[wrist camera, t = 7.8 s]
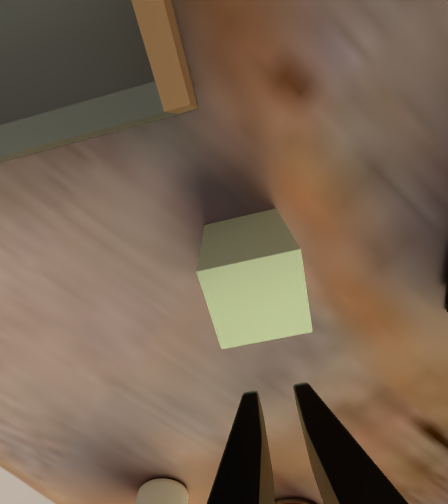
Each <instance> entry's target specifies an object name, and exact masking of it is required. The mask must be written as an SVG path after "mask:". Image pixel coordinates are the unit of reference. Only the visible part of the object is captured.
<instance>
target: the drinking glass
mask: <svg viewBox="0 0 448 504" xmlns="http://www.w3.org/2000/svg"><path fill="white" fill-rule="evenodd" d="M135 504H189V495H188V491H187V489H186V488H185V487H184V486H183V485H182V484H181V483H179V482H177V481H175V480H171V479H165V478H159V479H153V480H150V481H148V482H146V483H144V484H143V485H142V486H141V487H140V488H139V490H138V492H137V495H136V499H135Z"/></svg>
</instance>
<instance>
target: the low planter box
mask: <svg viewBox="0 0 448 504" xmlns="http://www.w3.org/2000/svg"><path fill="white" fill-rule="evenodd" d="M196 109H199V107H198V103H197V99H196V95H195V91H194V87H193V83H192V79H191V75H190V71H189V67H188V63H187V59H186V55H185V51H184V47H183V43H182V39H181V35H180V31H179V27H178V22H177V18H176V14H175V10H174V6H173V2H172V0H0V162H4V161H8V160H12V159H15V158H19V157H23V156H26V155H30V154H34V153H37V152H41V151H45V150H48V149H52V148H56V147H60V146H63V145H67V144H71V143H74V142H78V141H82V140H85V139H89V138H93V137H96V136H100V135H104V134H108V133H111V132H115V131H119V130H122V129H126V128H130V127H133V126H137V125H141V124H145V123H148V122H152V121H156V120H159V119H163V118H167V117H170V116H174V115H178V114H181V113H185V112H189V111H193V110H196Z"/></svg>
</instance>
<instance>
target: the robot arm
mask: <svg viewBox="0 0 448 504" xmlns="http://www.w3.org/2000/svg"><path fill="white" fill-rule="evenodd" d="M446 310H447V312H448V298H447V307H446ZM294 393H295V399H296V405H297V409H298V413H299V418H300V422H301V426H302V430H303V434H304V438H305V442H306V447H307V451H308V455H309V459H310V463H311V467H312V470H313V473H314V476H315V480H316V483H317V485H318V488H319V491H320V494H321V497H322V500H323V503H324V504H408V503H407V501H406V500H405V499H404V498H403V497H402V495H401V494H400V493H399V492H398V491H397V489H396V488H395V487H394V486H393V485H392V483H391V482H390V481H389V480H388V479H387V477H386V476H385V475H384V474H383V473H382V471H381V470H380V469H379V468H378V467H377V465H376V464H375V463H374V462H373V461H372V459H371V458H370V457H369V456H368V455H367V453H366V452H365V451H364V450H363V449H362V447H361V446H360V445H359V444H358V443H357V441H356V440H355V439H354V438H353V437H352V435H351V434H350V433H349V432H348V431H347V429H346V428H345V427H344V426H343V425H342V423H341V422H340V421H339V420H338V419H337V417H336V416H335V415H334V414H333V413H332V411H331V410H330V409H329V408H328V407H327V405H326V404H325V403H324V402H323V401H322V399H321V398H320V397H319V396H318V395H317V393H316V392H315V391H314V390H313V389H312V387H311V386H310V385H309V384H308V383H299V384H295V385H294ZM207 504H275V499H274V483H273V473H272V466H271V460H270V453H269V447H268V441H267V435H266V429H265V422H264V416H263V411H262V407H261V403H260V399H259V395H258V392H257V391H250V392H245V393H244V394H243V396H242V398H241V401H240V405H239V408H238V411H237V414H236V417H235V420H234V423H233V426H232V429H231V432H230V435H229V438H228V441H227V444H226V447H225V450H224V453H223V456H222V459H221V462H220V465H219V468H218V471H217V474H216V477H215V480H214V483H213V486H212V489H211V492H210V495H209V498H208V501H207Z"/></svg>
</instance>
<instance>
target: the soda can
mask: <svg viewBox="0 0 448 504" xmlns="http://www.w3.org/2000/svg"><path fill="white" fill-rule="evenodd" d="M275 504H312V503H310V502H308V501H305V500H302V499H282V500H278V501H275Z"/></svg>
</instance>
